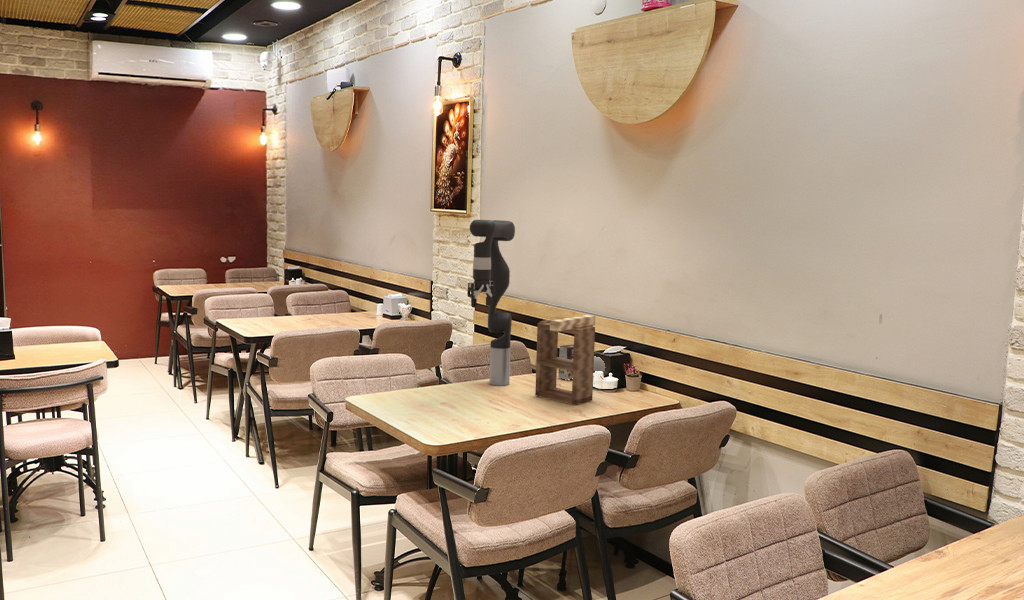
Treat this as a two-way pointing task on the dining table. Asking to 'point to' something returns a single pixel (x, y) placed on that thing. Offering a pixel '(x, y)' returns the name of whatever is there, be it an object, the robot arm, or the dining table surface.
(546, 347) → the walnut shelf
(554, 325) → the beech bar
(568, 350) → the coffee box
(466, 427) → the dining table surface
